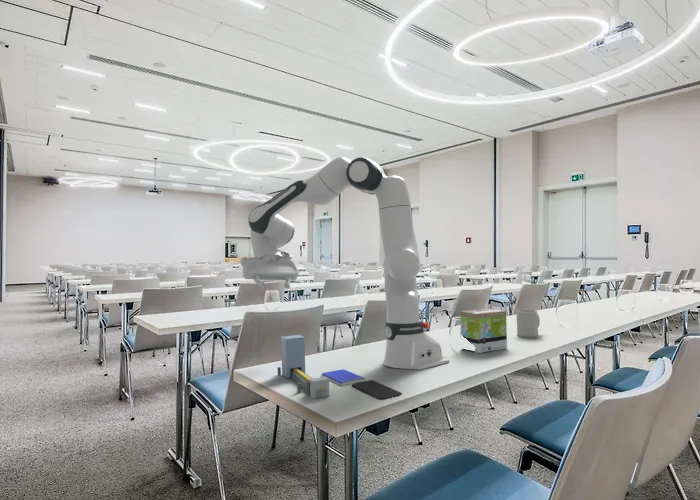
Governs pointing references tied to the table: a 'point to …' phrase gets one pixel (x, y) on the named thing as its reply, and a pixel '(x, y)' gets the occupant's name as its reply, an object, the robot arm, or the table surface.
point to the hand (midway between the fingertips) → (275, 287)
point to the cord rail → (309, 383)
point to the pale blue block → (292, 354)
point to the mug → (527, 323)
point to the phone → (376, 389)
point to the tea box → (485, 329)
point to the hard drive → (343, 377)
